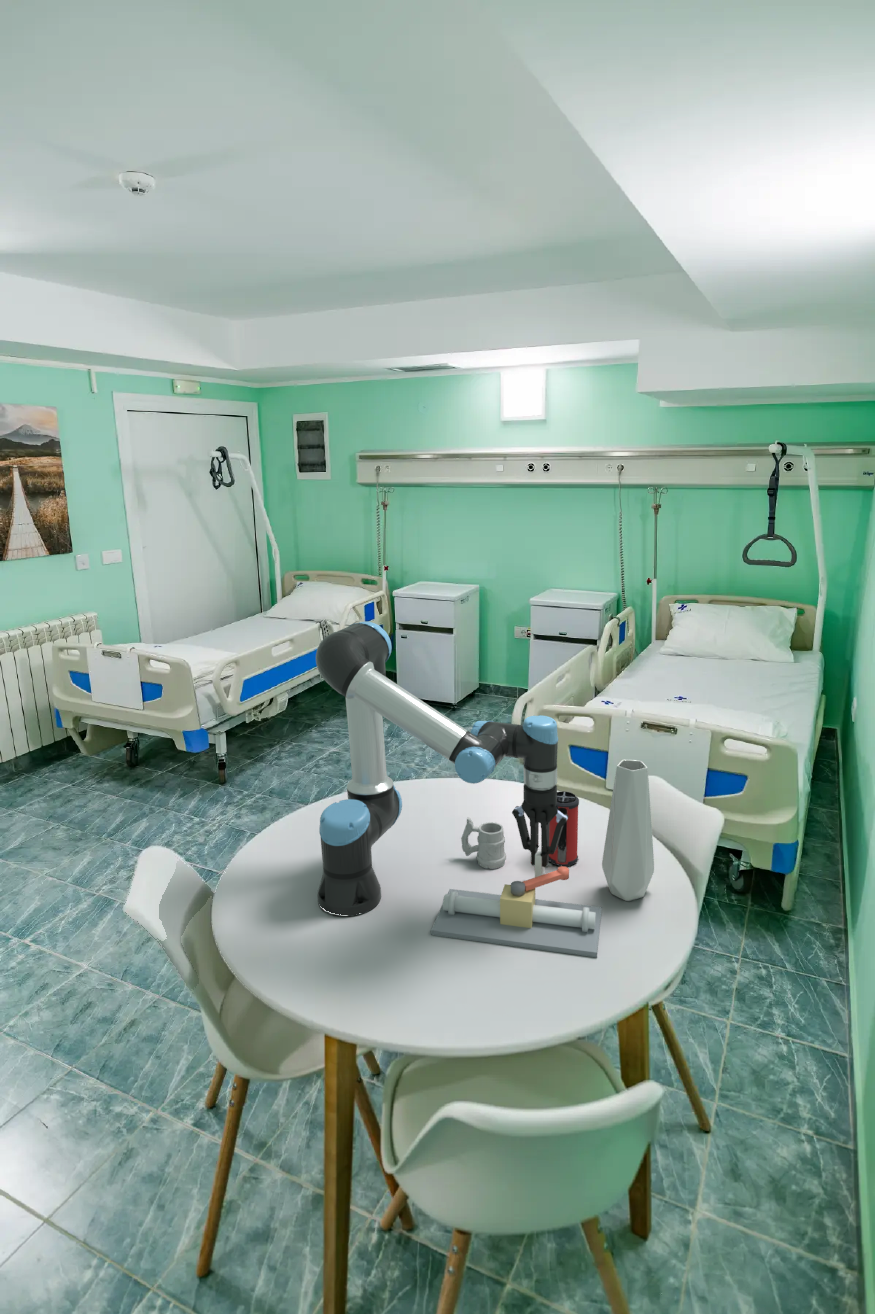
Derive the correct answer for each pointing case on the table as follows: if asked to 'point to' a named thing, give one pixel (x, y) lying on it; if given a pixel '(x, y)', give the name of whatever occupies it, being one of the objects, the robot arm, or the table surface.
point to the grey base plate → (519, 921)
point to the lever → (539, 881)
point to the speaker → (566, 831)
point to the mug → (486, 844)
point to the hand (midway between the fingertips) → (539, 877)
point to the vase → (629, 833)
